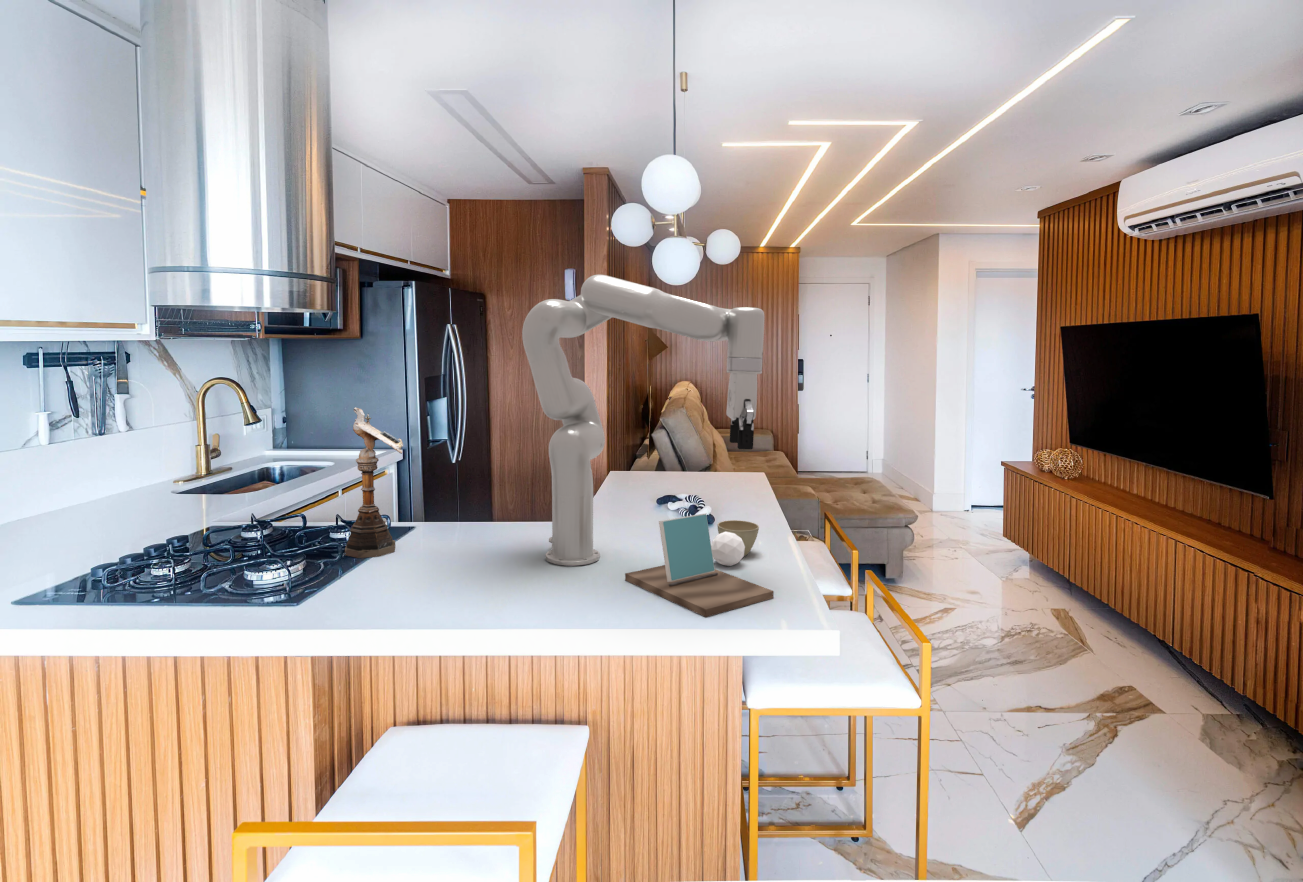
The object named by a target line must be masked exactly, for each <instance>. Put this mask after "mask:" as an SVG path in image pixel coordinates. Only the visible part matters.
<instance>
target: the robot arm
mask: <svg viewBox="0 0 1303 882" xmlns="http://www.w3.org/2000/svg"><path fill="white" fill-rule="evenodd" d="M612 318H615V319H618V320H621V321H624V322H628V323H632V324H635V325H639V326H642V327H647V328H649V329H657V330H661V331H665V332H668V333H672V334H675V335H678V336H679V335H680V336H683V337H686V338H691V339H694V340H697V341H702V342H715V343H716V342H722V341H723V342H724V341H727V350H726V351H727V353H726V355H727V356H726V374H727V373H728V374H729V379H728V386H727V387H728V388H727V389H728V391H727V399H726V400H727V402H726V412H725V414H726V416H727V417H728V418H730V425H729V426H730V427H729V442H730V443H732V444H737V449H738V450H753V449H754V437H755V436H754V433H755V426H754V420H755V419H756V416H757V406H758V405H757V403H758V402H757V401H758V375H761V374H763V357H764V356H763V355H764V337H765V336H764V335H765V334H764V333H765V312H764V310H763V309H761V308H758V307H751V306H750V307H749V306H748V307H747V306H744V307H743V306H741V307H739V306H737V307H734V308H732V309H731V308H723V307H718V306H716V305H712V304H709V303H704V302H701V301H696V300H692V299H688V298H685V297H681V296H677V295H674V294H671V293H667V292H665V291H662V290H661V289H658V288H656V287H652V286H648V285H644V284H640V283H637V282H633V281H629V280H626V279H622V278H617V277H614V276H610V275H606V274H599V273H598V274H594V275H591V276H589V277H588V278H586V280H585V281H584V282H583V283H582V285H581V288H580V294H579V295H577V296H576V297H574V298H572V299H571V300H564V299H558V298H551V299H545V300H542V301H540V302H538V303H537V304H536V305H534V306H533V307H532V308H531V309H530V310H529V312H528V314H527V315H526V317H525V319H524V321H523V325H522V333H521V334H522V335H521V336H522V337H521V338H522V343H523V348H524V351H525V352H524V353H525V355H526V358H527V361H528V365H529V367H530V371H531V375H532V379H533V382H534V385H535V388H536V389H535V390H536V392H537V396H538V400H539V402H540V403H539V404H540V406H541V409H542V411H543V413H544V414H545V415H546V417H547V418H549V419H551V420H554V421H561V423H562V426H561V427H559V428H558V429H556V431H554V433H553V434H552V436H551V437H550V440H549V442H548V457H549V458H548V459H549V463H550V473H551V508H552V509H551V510H552V511H551V513H552V515H551V516H552V518H551V529H552V530H551V531H552V532H551V536H550V537H549V538H548V542H549V543H550V544H551V549H550V550H548V551H547V552H546V553H545V560H546V562H548V563H551V564H553V565H559V566H564V567H565V566H567V567H568V566H573V567H574V566H576V567H577V566H585V565H589V564H593V563H595V562H597V561H598V560H600V557H601V556H600V551H598V550H597V549H594V479H593V477H594V476H593V469H592V464H591V460H593V459H596V458H597V457H598V456H600V454H601V453H602V452H603V450H604V448H605V444H606V437H605V436H606V435H605V432H604V431H605V430H604V427H603V424H602V421H601V417H600V414H599V411H598V407H597V404H596V403H597V402H596V400H595V397H594V394H593V392H592V390H591V389H590V387H589V386H588V384H587V383H586V382H584V381H583V380H582V379H580V378H576V377H573V376H572V374H571V370H570V367H569V362H568V359H567V356H566V354H565V352H564V350H563V348H562V346H561V344H560V338H564V339H565V338H566V339H572V338H576V337H580V336H582V335H583V334H585V333H587V332H589V331H591V330H592V329H594V328H596V327H598V326H599V325H602V324H603V323H606V322H607V321H608V320H610V319H612Z"/></svg>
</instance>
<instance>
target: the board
mask: <svg viewBox="0 0 1303 882" xmlns="http://www.w3.org/2000/svg"><path fill="white" fill-rule="evenodd" d="M624 575H625V576H624V577H625V578H624V580H625V581H626V582H628V583H630V584H633V585H635V586H636V587H639V588H642V589H643V590H645V591H648V592H650V593H652V594H654V595H656V596H659V597H660V598H662V599H665V600H667V601H669V602H672V603H673V604H676V605H678V606H680V607H682V608H685V609H687V610H689V611H691V612H693V613H695V614H697V615H700V616H702V617H704V618H708V617H709V618H710V617H713V616H715V615H719V614H722V613H726V612H729V611H730V612H731V611H733V610H736V609H739V608H743V607H747V606H750V605H754V604H757V603H761V602H765V601H768V600H771V599H774V592H775V591H774V590H772V589H769V588H768V587H765V586H761V585H759V584H756V583H754V582H751V581H748V580H746V579H742V578H741V577H738V576H734V575H732V574H730V573H726V572H724V571H721V570H718V569H716V568H715V571H714V572H710V573H706V574H701V575H697V576H693V577H689V578H684V579H680V580H676V581H672V582H667V575H666V568H665V564H663V565H660V566H654V567H650V568H645V569H640V570H635V571H632V572H627V573H624Z"/></svg>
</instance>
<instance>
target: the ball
mask: <svg viewBox="0 0 1303 882" xmlns="http://www.w3.org/2000/svg"><path fill="white" fill-rule="evenodd" d="M711 548H712V555H713V561H714V560H715V561H716V563H718V564H720V565H722V566H727V567H732V566H734V565H736V564H738V563H739V562H741V560H742V559H743V557H745V556H744V550H745V546H744V543H743V541H742V538H740V537H739V536H737V535H736V534H735V533H730V532H726V531H725V532H723V533H720V534H719V533H718V534H717V535H716V536H715V537H714V538H713V540H711Z"/></svg>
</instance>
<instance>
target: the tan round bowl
mask: <svg viewBox="0 0 1303 882" xmlns="http://www.w3.org/2000/svg"><path fill="white" fill-rule="evenodd" d="M759 528H760V526H759V525H758V523H755V522H752V521H747V520H740V519H739V520H738V519H732V520H731V519H730V520H729V519H728V520H722V521H720V522H718V523H717V533H718V534H720V533H723V532H725V531H726V532H730V533H735V534H736V535H737V536H739V537H740V538H742V541H743V543H744V546H745V550H744V556H743V557H746V556H748V554H749V553H750V551H751V550H752V548H753V547H754V545H755V542H756V540H757V537H758V534H759Z"/></svg>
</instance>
